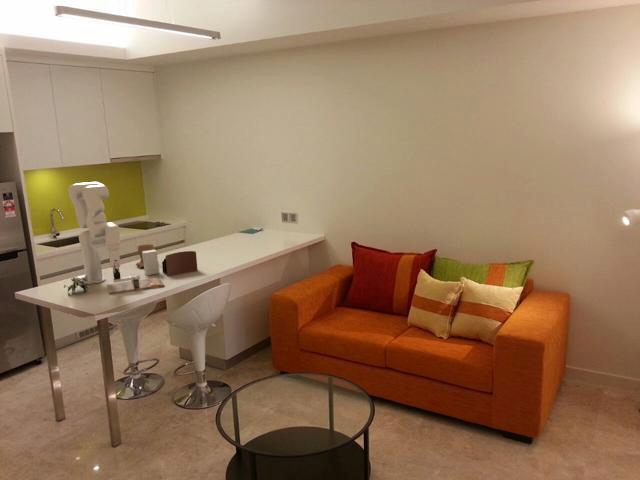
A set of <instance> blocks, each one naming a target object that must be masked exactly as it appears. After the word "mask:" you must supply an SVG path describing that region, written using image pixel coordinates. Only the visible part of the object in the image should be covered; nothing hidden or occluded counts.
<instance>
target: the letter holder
mask: <svg viewBox="0 0 640 480" xmlns="http://www.w3.org/2000/svg"><path fill="white" fill-rule="evenodd" d="M161 268H162V273H163V274H164V275H165V276H167V277H170V276H176V275H181V274H188V273H194V272H198V261H197V252H196V251H195V250H188V251H187V250H185V251H179V252H174V253H170V254H167V255H166V256H165V258H164V259H163V261H162V262H161Z"/></svg>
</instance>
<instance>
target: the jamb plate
mask: <svg viewBox="0 0 640 480" xmlns="http://www.w3.org/2000/svg"><path fill="white" fill-rule="evenodd" d="M134 275H136V273H131V274H130V276H134ZM106 287H107V291H108V293H109V295H110V296H111V295H117V294H123V293H130V292H137V291H138V292H139V291H144V290H150V289H151V288H152V289H157V287H159V288H165V283H164V282H163V281H162V280H161V278H160V277H153V278H145V279H138V280H129V281H122V282H115V283H110V284H106ZM152 289H151V290H152Z"/></svg>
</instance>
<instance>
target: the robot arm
mask: <svg viewBox="0 0 640 480" xmlns="http://www.w3.org/2000/svg"><path fill="white" fill-rule="evenodd" d="M68 196H69V199H70V201H71V203H72V204H73V207H74V210H75V211H74V212H75V215H76V220H77V223H78V226H79V227H80V229H86V230H84V231H82V232H80V233H79V234H78V240H79V244H80V249H81V252H82V259H83V267H84V275H81V276H77V277H76V278H77V279H79V280H80V281H82V280H83V279H82V278H81V277H83V278H85V279H86V280H87V281H85V280H83V282H84V283H85V284H87V285H89V284H90V285H92V284H93V285H94V284H100V283H103V282H104V281H106V277H105V276H103V271H102V264H101V263H102V262H101V254H100V251H99V250H98V248H96V247H95V246H98V245H105V246H106V250H107V251H108V257H109V258H108V259H109V265H110V268H111V269H113V268H114V273H113V272H112V275H113V279H115V280H116V279H121V278H122V277H121V272H120V267H121V257H120V255H121V254H120V250H121V249H122V243H121V235H120V226H119V225H118V224H117V223H116V224H115V223H114V222H111V221H110V222H107V216H106V214H105V213H104V210H105V208H106V207H105V205H104V202H103V200H106V199H108V198H109V196H110V191H109V189H108V187H107V186H106V185H105V184H103V183H101V182H99V181H90V182H78V183H74V184H71V185H70V186H69V187H68ZM115 268H116V269H115Z"/></svg>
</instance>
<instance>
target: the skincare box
mask: <svg viewBox="0 0 640 480" xmlns="http://www.w3.org/2000/svg"><path fill="white" fill-rule="evenodd" d="M142 255H143V263H144V267H143V270H144V274H145V275H146V276H151V275H155V274H160V269H159V260H158V258H159V257H158V252H157V250H156V249H154V250H149V251H142Z"/></svg>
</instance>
